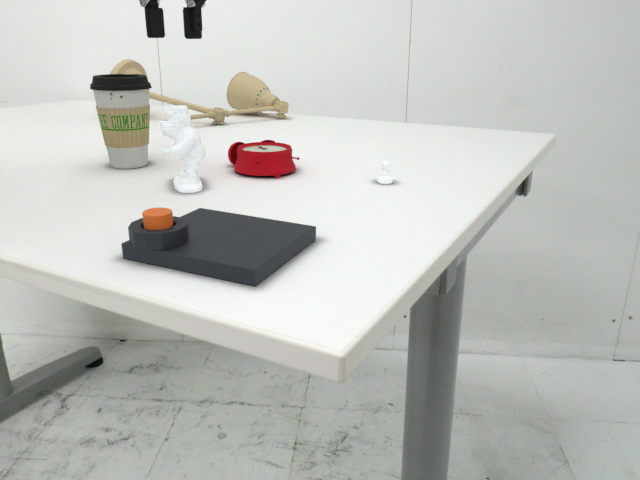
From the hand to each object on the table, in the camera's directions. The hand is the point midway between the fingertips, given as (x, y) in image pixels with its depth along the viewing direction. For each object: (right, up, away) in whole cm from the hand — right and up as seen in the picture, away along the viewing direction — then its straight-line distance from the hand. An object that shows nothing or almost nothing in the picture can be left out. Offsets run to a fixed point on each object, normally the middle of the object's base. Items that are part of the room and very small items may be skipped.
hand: (174, 36), depth 80 cm
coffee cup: (-13, -15, +20) cm, 28 cm away
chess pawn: (+31, -19, +11) cm, 38 cm away
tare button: (+3, -27, -20) cm, 34 cm away
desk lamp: (-10, +4, +72) cm, 73 cm away
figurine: (0, -20, +8) cm, 22 cm away
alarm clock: (+10, -16, +19) cm, 27 cm away
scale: (+10, -30, -17) cm, 36 cm away
